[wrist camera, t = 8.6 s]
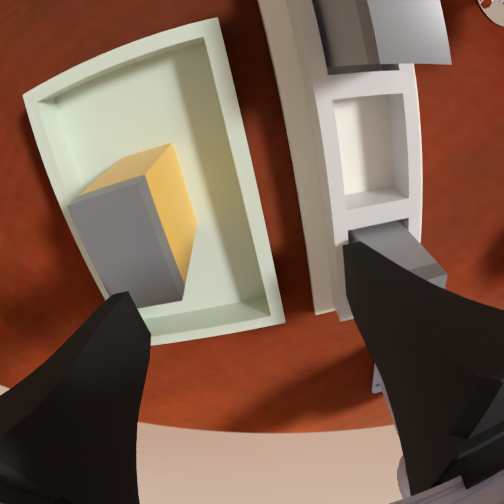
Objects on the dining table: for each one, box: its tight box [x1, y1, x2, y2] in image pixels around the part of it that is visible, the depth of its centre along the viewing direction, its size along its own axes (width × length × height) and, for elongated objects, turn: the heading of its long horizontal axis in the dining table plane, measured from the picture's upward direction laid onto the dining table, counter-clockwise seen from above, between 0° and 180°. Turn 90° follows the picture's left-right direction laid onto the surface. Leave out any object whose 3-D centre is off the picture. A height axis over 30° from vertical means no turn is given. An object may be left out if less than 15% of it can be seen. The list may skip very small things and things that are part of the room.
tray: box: [23, 17, 286, 345], centre depth 17 cm, size 18×11×2 cm, turn 12°
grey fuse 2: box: [348, 220, 447, 289], centre depth 17 cm, size 5×3×7 cm, turn 12°
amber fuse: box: [67, 142, 197, 309], centre depth 15 cm, size 5×3×7 cm, turn 12°
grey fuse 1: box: [312, 0, 452, 67], centre depth 10 cm, size 5×3×7 cm, turn 12°
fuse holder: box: [257, 0, 422, 322], centre depth 16 cm, size 23×8×3 cm, turn 12°
